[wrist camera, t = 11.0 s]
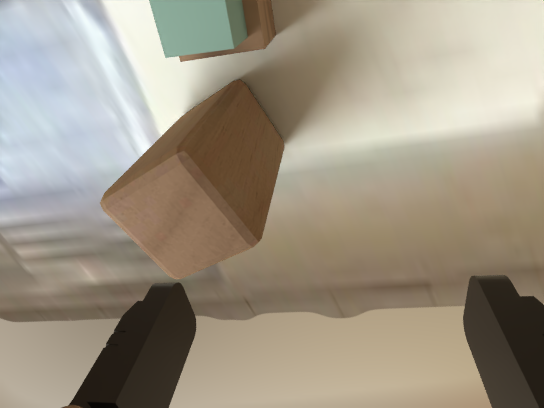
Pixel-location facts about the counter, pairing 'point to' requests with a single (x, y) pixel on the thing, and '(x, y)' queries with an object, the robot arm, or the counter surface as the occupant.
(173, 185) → the block
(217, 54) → the walnut block
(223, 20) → the teal cube
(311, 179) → the counter surface
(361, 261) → the counter surface
